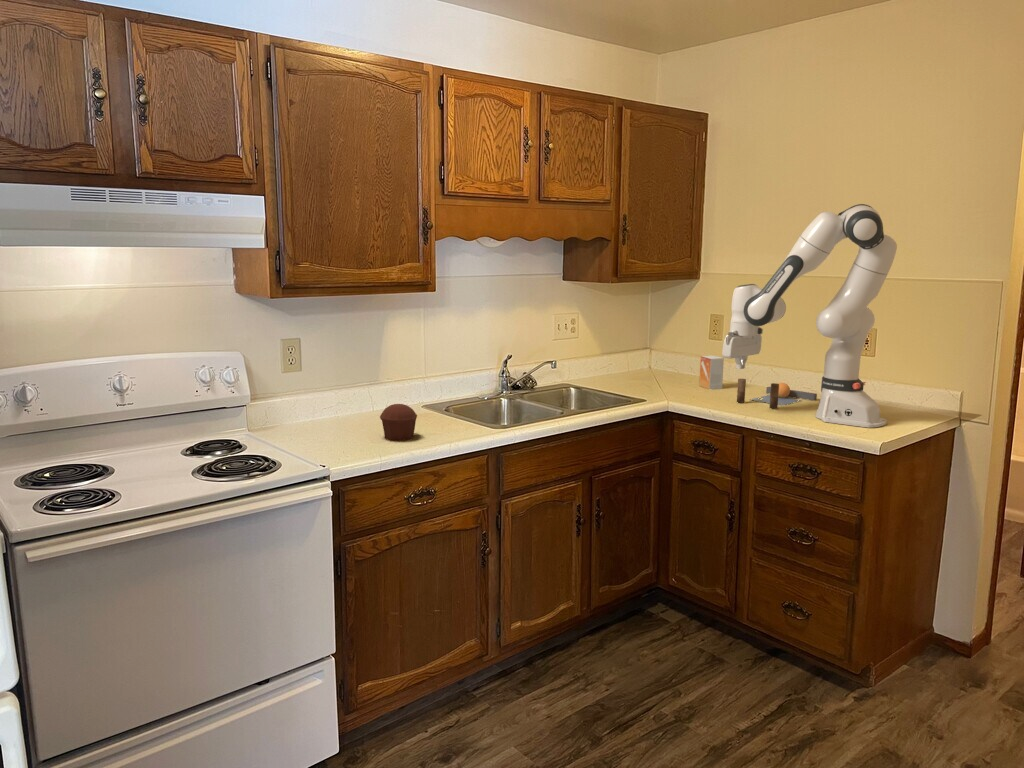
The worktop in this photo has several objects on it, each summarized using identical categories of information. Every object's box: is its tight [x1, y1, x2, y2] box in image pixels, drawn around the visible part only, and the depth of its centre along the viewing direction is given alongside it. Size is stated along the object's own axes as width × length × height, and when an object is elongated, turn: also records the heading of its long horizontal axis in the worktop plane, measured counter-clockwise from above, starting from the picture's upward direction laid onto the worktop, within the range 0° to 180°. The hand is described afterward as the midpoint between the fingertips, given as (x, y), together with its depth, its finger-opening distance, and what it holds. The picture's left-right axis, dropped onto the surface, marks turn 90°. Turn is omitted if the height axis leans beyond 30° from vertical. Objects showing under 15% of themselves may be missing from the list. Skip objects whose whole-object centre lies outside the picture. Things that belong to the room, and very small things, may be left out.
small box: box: [698, 355, 725, 390], centre depth 323 cm, size 8×6×13 cm
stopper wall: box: [765, 386, 818, 401], centre depth 305 cm, size 20×2×2 cm, turn 43°
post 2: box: [768, 382, 779, 410], centre depth 283 cm, size 3×3×9 cm
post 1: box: [736, 378, 747, 404], centre depth 292 cm, size 3×3×9 cm
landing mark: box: [749, 394, 803, 406], centre depth 298 cm, size 14×14×1 cm
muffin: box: [379, 403, 418, 442], centre depth 236 cm, size 12×11×10 cm
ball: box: [777, 382, 791, 398], centre depth 302 cm, size 6×6×6 cm
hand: (740, 368), depth 277 cm, fingers closed
